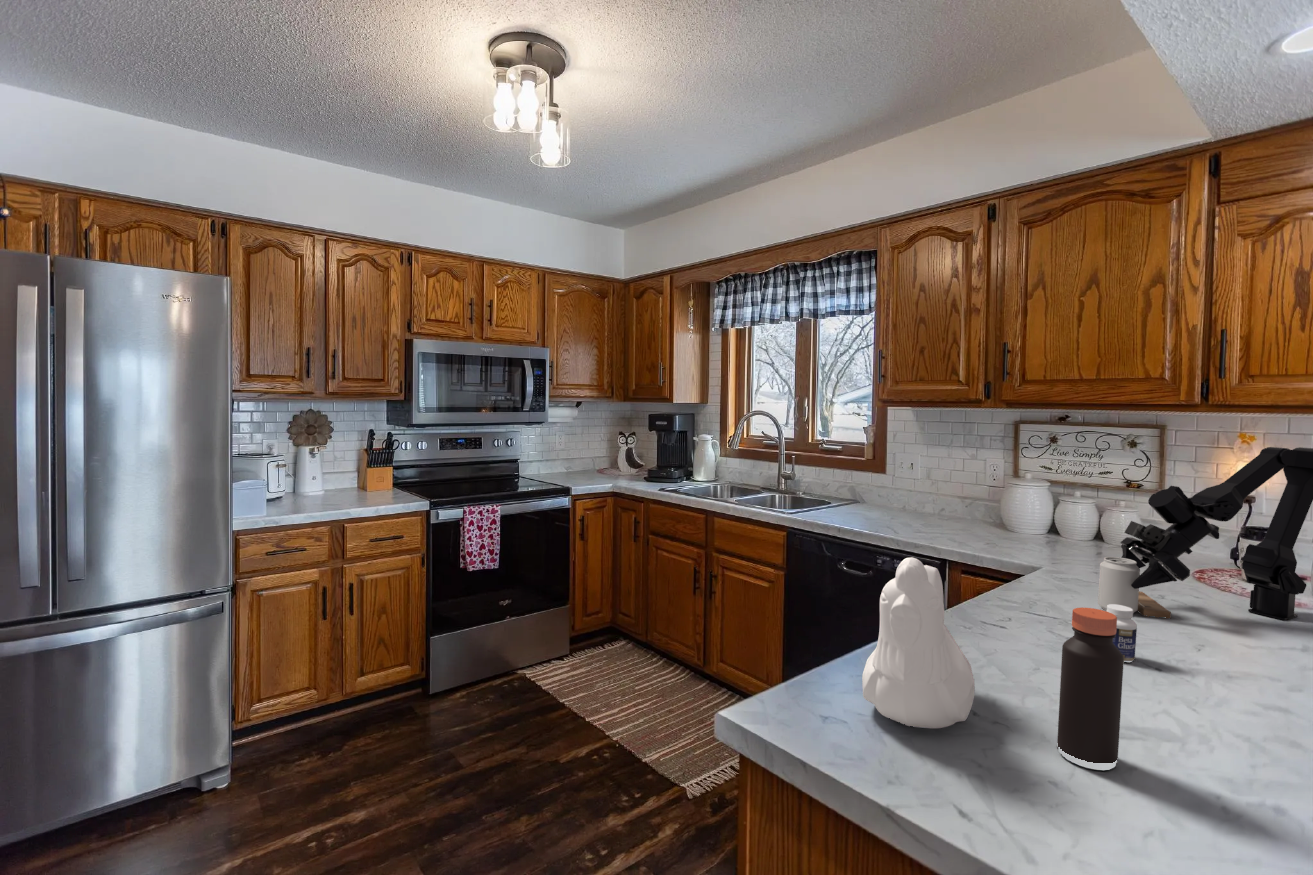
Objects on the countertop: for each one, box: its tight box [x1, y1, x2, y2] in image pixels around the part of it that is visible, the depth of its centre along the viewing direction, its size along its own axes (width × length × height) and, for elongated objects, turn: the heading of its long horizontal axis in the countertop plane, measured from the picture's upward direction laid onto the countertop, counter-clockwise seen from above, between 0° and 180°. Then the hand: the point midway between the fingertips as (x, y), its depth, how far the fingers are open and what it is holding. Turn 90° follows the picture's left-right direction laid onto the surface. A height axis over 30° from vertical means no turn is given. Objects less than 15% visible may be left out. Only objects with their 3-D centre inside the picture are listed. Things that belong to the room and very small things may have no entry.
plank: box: [1136, 591, 1172, 619], centre depth 150 cm, size 16×5×2 cm, turn 161°
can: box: [1097, 556, 1141, 614], centre depth 147 cm, size 8×8×12 cm
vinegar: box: [1056, 607, 1125, 763], centre depth 85 cm, size 7×7×20 cm
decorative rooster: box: [861, 556, 976, 729], centre depth 98 cm, size 25×16×25 cm, turn 135°
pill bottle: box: [1107, 604, 1138, 661], centre depth 119 cm, size 5×5×10 cm
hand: (1122, 581), depth 147 cm, fingers open, 9 cm apart
